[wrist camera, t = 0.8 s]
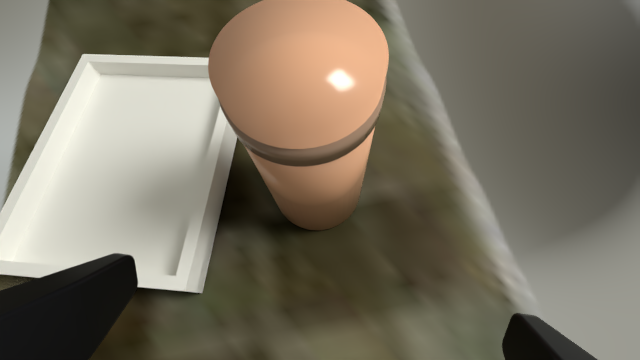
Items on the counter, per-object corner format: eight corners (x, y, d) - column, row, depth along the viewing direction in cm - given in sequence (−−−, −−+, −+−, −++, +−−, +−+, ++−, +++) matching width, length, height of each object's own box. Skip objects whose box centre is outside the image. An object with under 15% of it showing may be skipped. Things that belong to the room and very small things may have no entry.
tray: (202, 293, 20) (185, 291, 18) (9, 275, 21) (-31, 271, 19) (249, 80, 27) (242, 59, 25) (103, 74, 28) (83, 54, 26)
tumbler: (360, 235, 21) (392, 138, 9) (267, 228, 22) (183, 127, 10) (363, 152, 24) (391, -8, 12) (280, 147, 24) (226, -10, 12)
